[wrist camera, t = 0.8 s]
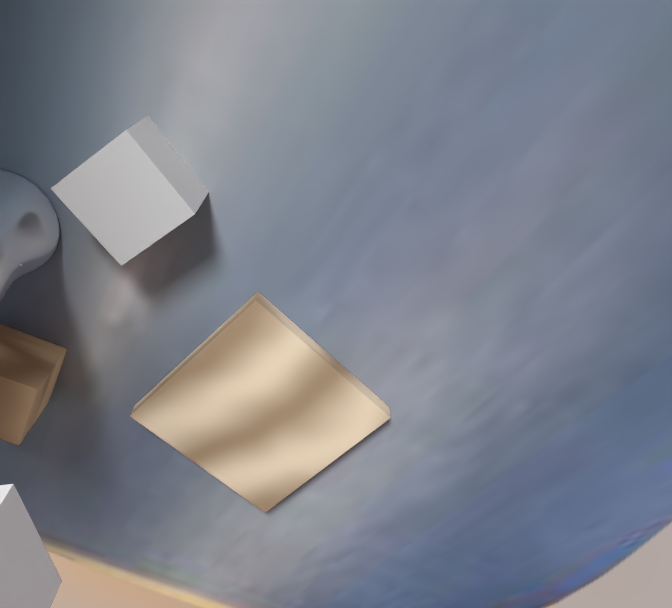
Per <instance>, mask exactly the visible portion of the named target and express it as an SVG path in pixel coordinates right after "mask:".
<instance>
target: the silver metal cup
mask: <svg viewBox="0 0 672 608" xmlns="http://www.w3.org/2000/svg"><path fill="white" fill-rule="evenodd" d="M59 235H60V229H59V222H58V218H57V215H56V212H55V210H54V208H53V206H52V204H51V202H50V201H49V200H48V198H47V197H46V196H45V194H44V193H43V192H42V191H41V190H40V189H39V188H38V187H36V186H35V185H34V184H33V183H31V182H30V181H28V180H27V179H25V178H23V177H21V176H19V175H17V174H15V173H12V172H9V171H5V170H0V302H1V300H2V298H3V296H4V295H5V293H6V291H7V290H8V288H9V287H10V285H11V283H12V282H13V281H14V280H15V279H17V278H18V277H20V276H21V275H24V274H26V273H28V272H30V271H32V270H34V269H36V268H38V267H40V266H41V265H43V264H44V263H45V262H46V261H47V260H48V259H49V258H50V257H51V256H52V255H53V253H54V251H55V249H56V247H57V245H58V241H59Z"/></svg>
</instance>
